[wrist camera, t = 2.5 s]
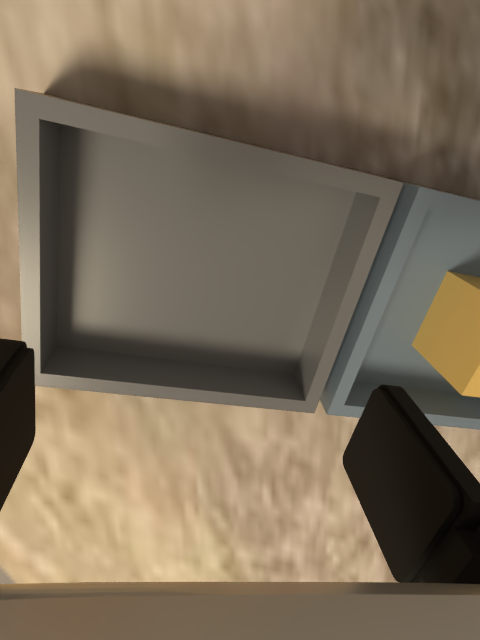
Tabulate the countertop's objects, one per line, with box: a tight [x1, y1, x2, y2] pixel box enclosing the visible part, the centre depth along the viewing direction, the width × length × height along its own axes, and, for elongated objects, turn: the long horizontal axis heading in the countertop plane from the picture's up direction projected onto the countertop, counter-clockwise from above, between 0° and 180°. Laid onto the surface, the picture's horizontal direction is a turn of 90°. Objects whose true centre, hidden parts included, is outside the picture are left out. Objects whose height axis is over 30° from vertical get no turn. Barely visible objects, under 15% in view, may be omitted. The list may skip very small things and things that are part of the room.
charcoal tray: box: [15, 88, 404, 413], centre depth 19 cm, size 13×16×3 cm
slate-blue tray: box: [320, 178, 480, 430], centre depth 23 cm, size 13×16×3 cm
